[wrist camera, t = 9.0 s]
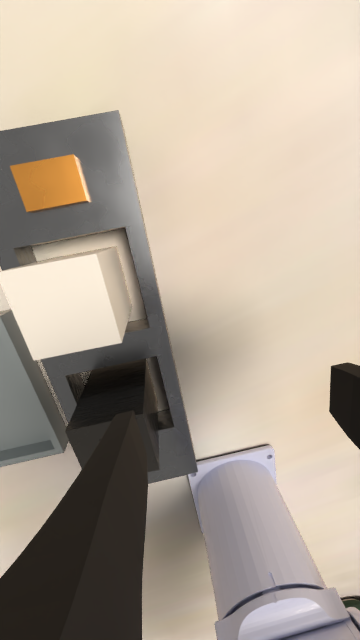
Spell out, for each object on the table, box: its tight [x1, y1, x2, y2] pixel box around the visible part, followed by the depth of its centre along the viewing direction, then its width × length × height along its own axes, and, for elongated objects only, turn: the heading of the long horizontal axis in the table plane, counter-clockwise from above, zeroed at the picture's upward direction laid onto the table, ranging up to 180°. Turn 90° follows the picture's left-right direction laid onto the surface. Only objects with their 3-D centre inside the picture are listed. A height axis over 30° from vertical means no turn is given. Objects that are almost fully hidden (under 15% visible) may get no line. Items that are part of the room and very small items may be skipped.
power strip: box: [0, 110, 198, 484], centre depth 15 cm, size 24×8×6 cm, turn 11°
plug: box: [0, 246, 132, 361], centre depth 13 cm, size 4×4×6 cm
